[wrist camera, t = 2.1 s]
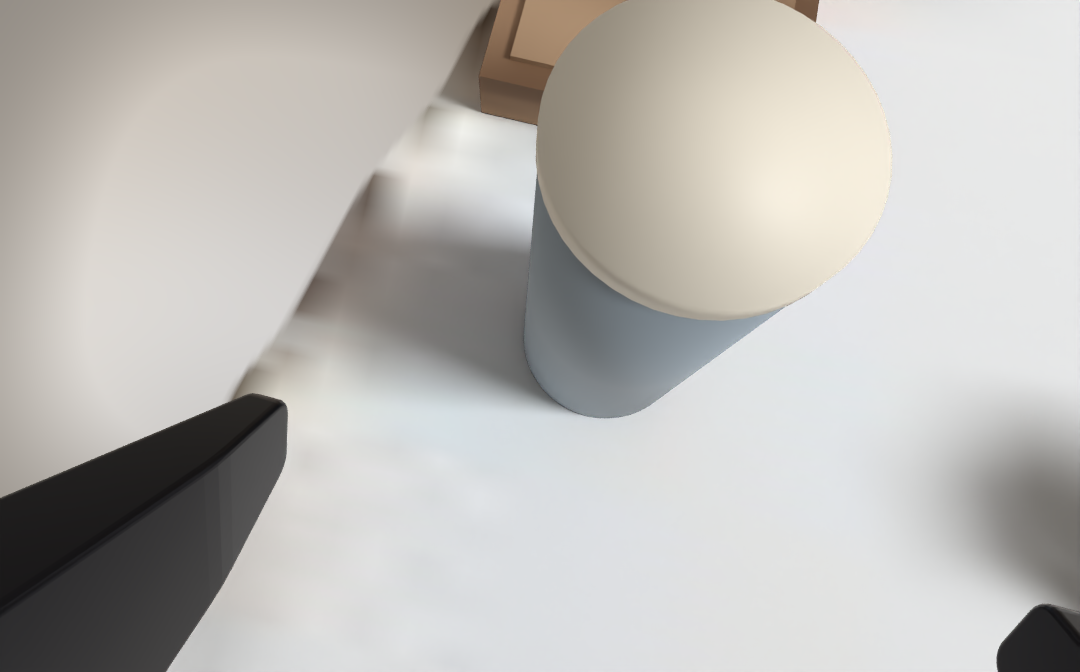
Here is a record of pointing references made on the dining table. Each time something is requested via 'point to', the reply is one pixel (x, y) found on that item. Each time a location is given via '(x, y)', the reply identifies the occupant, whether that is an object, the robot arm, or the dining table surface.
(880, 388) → the dining table surface
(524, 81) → the stand
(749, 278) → the tin
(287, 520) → the dining table surface
